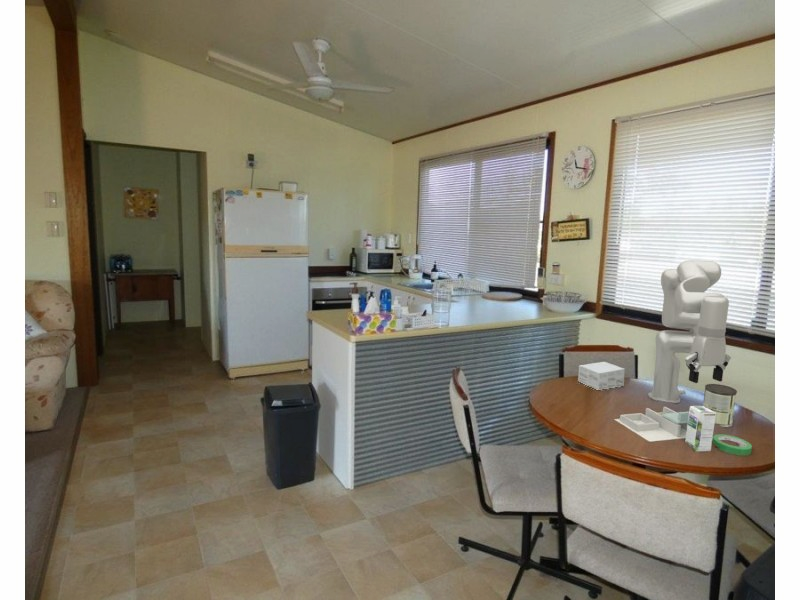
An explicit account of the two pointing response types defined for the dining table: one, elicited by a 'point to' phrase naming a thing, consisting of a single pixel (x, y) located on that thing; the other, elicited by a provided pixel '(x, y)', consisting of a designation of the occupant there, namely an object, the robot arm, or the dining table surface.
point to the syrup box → (700, 428)
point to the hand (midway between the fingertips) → (705, 381)
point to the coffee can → (720, 403)
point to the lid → (677, 417)
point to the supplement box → (601, 375)
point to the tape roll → (742, 450)
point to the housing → (654, 425)
